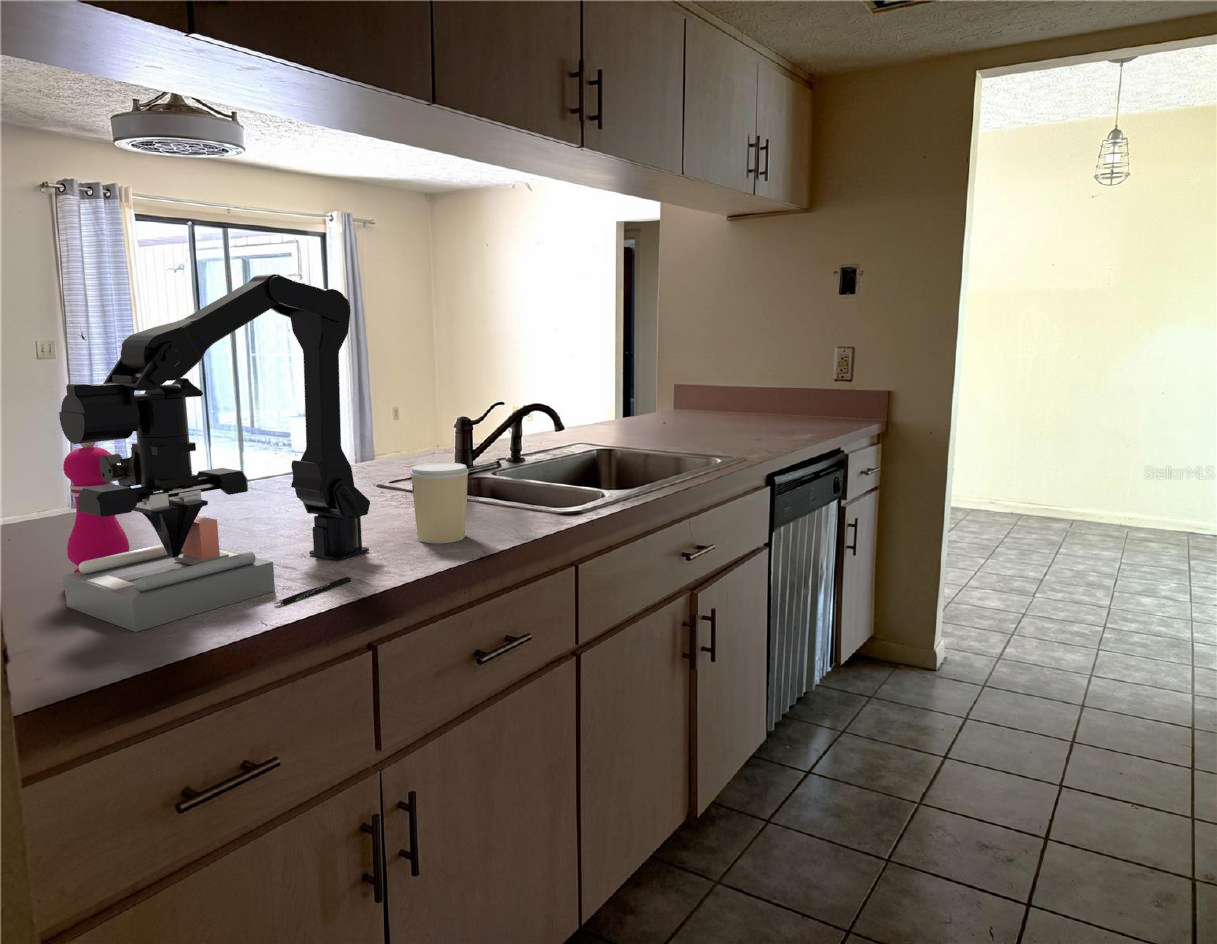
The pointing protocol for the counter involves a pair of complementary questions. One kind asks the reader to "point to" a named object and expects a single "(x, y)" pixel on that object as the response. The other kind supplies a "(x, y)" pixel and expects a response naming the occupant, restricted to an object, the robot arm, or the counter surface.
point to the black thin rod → (313, 591)
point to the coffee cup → (440, 501)
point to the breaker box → (163, 586)
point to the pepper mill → (89, 530)
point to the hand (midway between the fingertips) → (174, 556)
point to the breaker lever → (201, 543)
